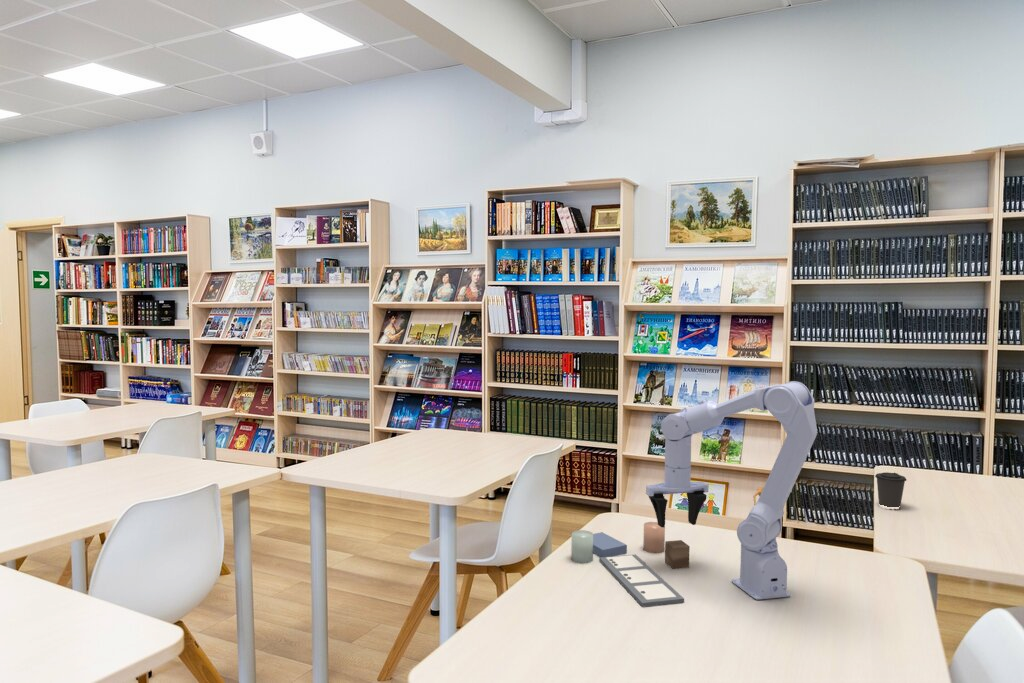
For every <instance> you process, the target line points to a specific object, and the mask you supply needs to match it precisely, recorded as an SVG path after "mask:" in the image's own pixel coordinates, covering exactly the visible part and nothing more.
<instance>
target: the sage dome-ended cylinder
mask: <svg viewBox="0 0 1024 683" xmlns="http://www.w3.org/2000/svg"><path fill="white" fill-rule="evenodd" d="M593 534H594V533H593V532H592V531H589V530H583V529H582V530H581V529H579V530H578V529H577V530H575V531H572V532H571V544H570V545H571V549H570V550H571V553H570V554H571V555H570V559H571V560H572V562H574V563H577V564H590V563H592V562H593V560H594V553H593Z"/></svg>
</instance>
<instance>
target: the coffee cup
mask: <svg viewBox="0 0 1024 683" xmlns="http://www.w3.org/2000/svg"><path fill="white" fill-rule="evenodd" d="M875 478H876V485H877V498H878V505H879V504H880V505H884V506H887V507H899V506H900V507H901V505H902V499H903V493H904V488H905V482H907V478H906V476H903V475H900V474H899V473H896V472H879V473H876V474H875Z"/></svg>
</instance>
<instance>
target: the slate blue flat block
mask: <svg viewBox="0 0 1024 683" xmlns="http://www.w3.org/2000/svg"><path fill="white" fill-rule="evenodd" d="M627 553H628V544H626V543H624V542H622V541H620V540H618V539H616V538H614V537H613V536H611V535H609V534H606V533H604V532H596V533H593V555H595V556H598V558H600V557H612V556H623V555H627Z"/></svg>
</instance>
